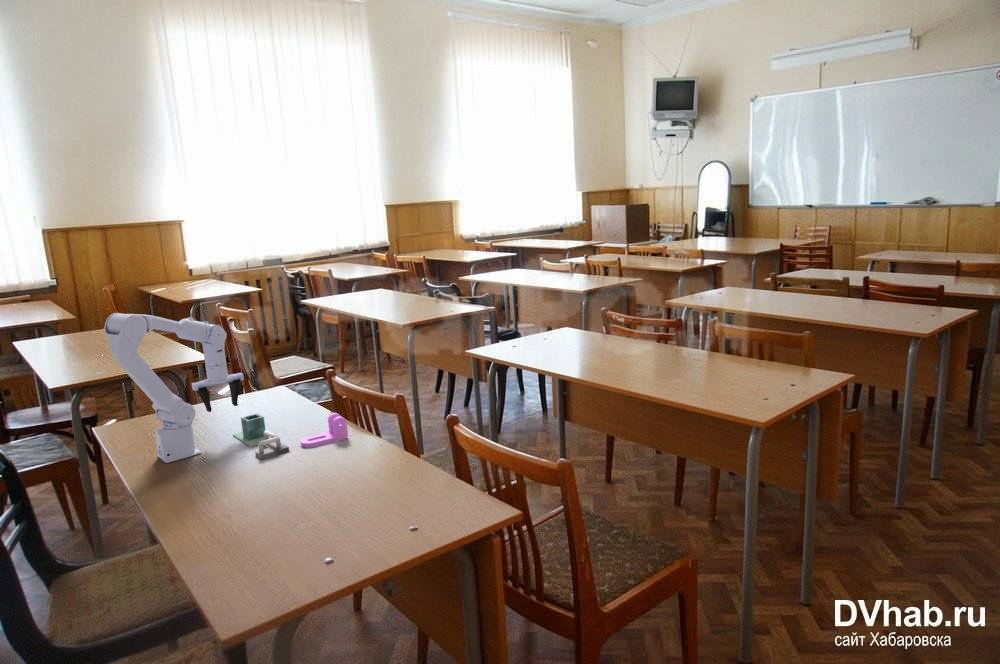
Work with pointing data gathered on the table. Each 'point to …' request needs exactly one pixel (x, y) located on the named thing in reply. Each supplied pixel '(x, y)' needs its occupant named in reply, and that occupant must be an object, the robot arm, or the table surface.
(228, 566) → the table surface
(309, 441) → the bracket
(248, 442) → the end mat
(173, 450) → the robot arm
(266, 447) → the bar handle
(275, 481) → the table surface
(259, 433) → the collar
